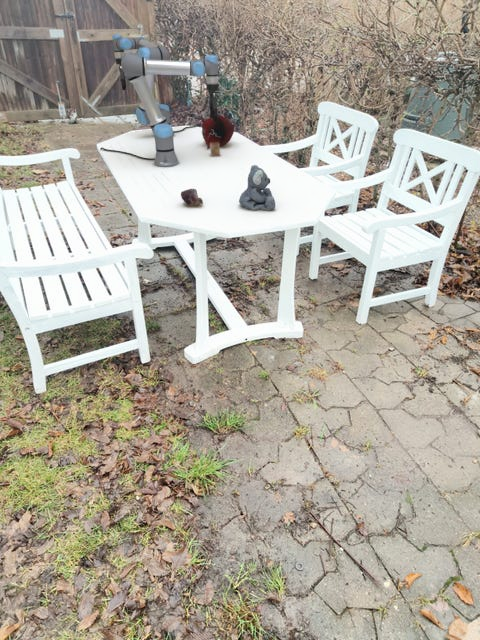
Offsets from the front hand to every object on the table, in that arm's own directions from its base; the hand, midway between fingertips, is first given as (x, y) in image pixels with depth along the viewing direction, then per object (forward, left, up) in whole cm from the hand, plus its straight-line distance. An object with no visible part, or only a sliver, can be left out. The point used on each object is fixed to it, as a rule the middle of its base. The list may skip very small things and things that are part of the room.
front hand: (213, 119), depth 298 cm
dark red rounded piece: (-19, +21, -23) cm, 37 cm away
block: (0, 0, -23) cm, 23 cm away
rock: (+60, -76, -23) cm, 100 cm away
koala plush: (+86, -55, -23) cm, 105 cm away
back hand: (-110, +8, +9) cm, 110 cm away
